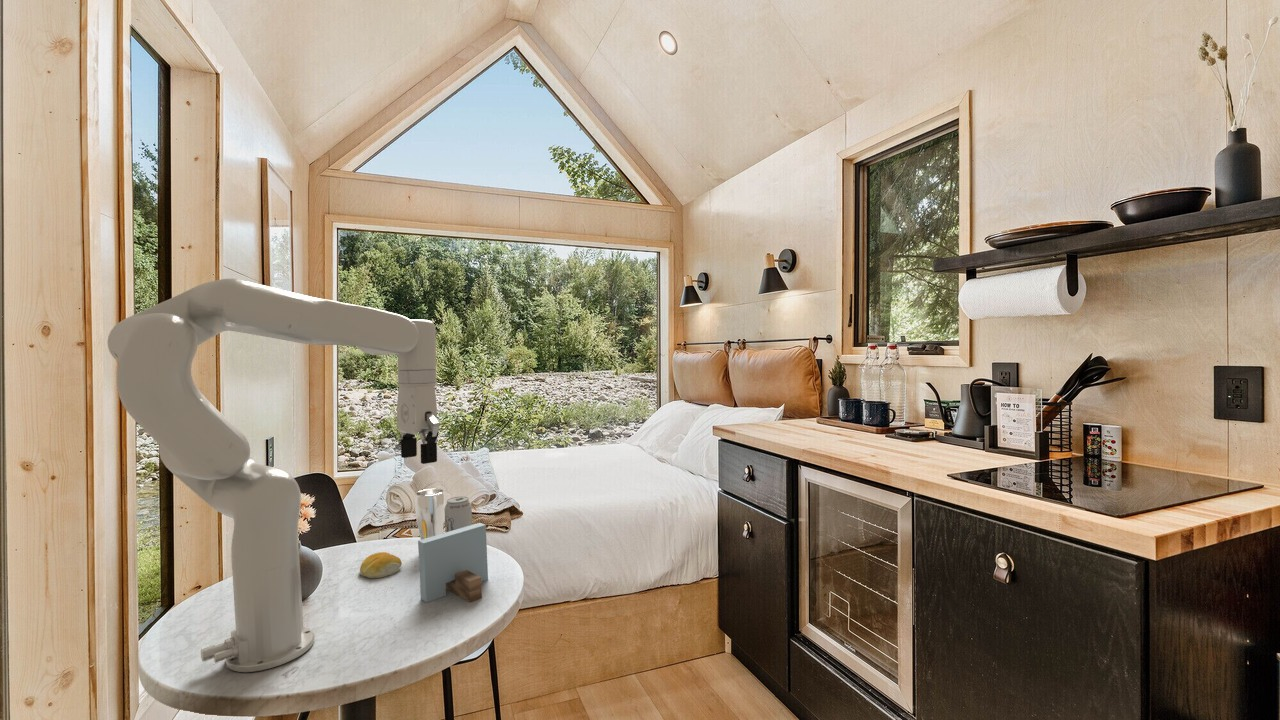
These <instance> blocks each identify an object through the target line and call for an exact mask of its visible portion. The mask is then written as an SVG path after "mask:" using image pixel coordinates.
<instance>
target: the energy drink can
mask: <svg viewBox="0 0 1280 720" xmlns="http://www.w3.org/2000/svg"><path fill="white" fill-rule="evenodd" d="M472 509H473V507H472V504H471V502H470V499H469V497H468V496H456V497H455V496H453V497H451V498H448V499H446V503H445V508H444V510H445V522H444V527H445V531H444V532H445V533H446V532H449V531H453V530H456V529H460V528H463V527H467V526H470V525H473V511H472Z"/></svg>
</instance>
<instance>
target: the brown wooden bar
mask: <svg viewBox="0 0 1280 720" xmlns="http://www.w3.org/2000/svg"><path fill="white" fill-rule="evenodd" d="M446 590H448V591H449V592H452V593H454V595H455V594H456V595H457V596H459V597H461V598H462V599H464V600H466V601H468V602H470V603H471V602H474V601H477V600H479V599H482V597H483V592H482V582H481V577H480V576H478V575H476V574H474V573H472V572H470V571H468V570H465V571H462V572H459V573H456V574H455V580H453V581H450V582H447V583H446Z"/></svg>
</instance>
